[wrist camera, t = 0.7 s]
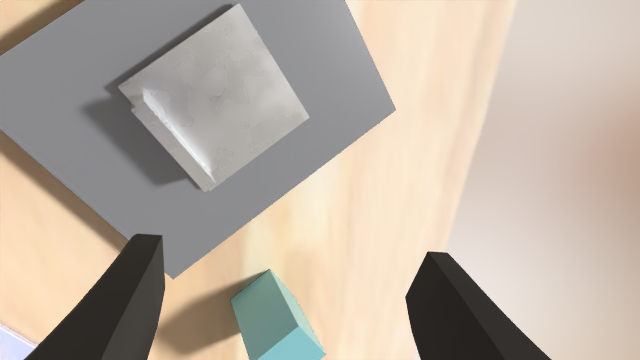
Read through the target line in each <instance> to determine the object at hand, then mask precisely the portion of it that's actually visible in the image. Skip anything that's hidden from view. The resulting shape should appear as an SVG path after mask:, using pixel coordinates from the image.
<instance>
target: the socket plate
mask: <svg viewBox="0 0 640 360" xmlns="http://www.w3.org/2000/svg"><path fill="white" fill-rule="evenodd" d="M237 3H240V5H241V7H242V8H243V10H244V11H245V13H246V15H247V16H248V18H249V20H250V21H251V23H252V24H253V26H254V28H255V29H256V31H257V33H258V34H259V36H260V37H261V39H262V41H263V42H264V44H265V46H266V47H267V49H268V50H269V52H270V54H271V55H272V57H273V59H274V60H275V62H276V63H277V65H278V67H279V68H280V70H281V71H282V73H283V75H284V76H285V78H286V80H287V81H288V83H289V84H290V86H291V88H292V89H293V91H294V93H295V94H296V96H297V97H298V99H299V101H300V102H301V104H302V106H303V107H304V109H305V110H306V112H307V114H308V115H309V117H310V118H308V119H307V120H306V121H304V122H303V123H301V124H300V125H299V126H297V127H296V128H295V129H293V130H292V131H291V132H289V133H288V134H287V135H285V136H284V137H283V138H281V139H280V140H279V141H277V142H276V143H274V144H273V145H272V146H270V147H269V148H268V149H266V150H265V151H264V152H262V153H261V154H260V155H258V156H257V157H256V158H254V159H253V160H252V161H250V162H249V163H248V164H246V165H245V166H243V167H242V168H241V169H239V170H238V171H237V172H235V173H234V174H233V175H231V176H230V177H229V178H227V179H226V180H225V181H223V182H222V183H221V184H219V185H218V186H217V187H215V188H214V189H212V190H211V191H210V190H208V191H206V192H204V191H203V190H202V189H201V188H200V186H199V185H198V184H197V183H196V182H195V181H194V180H193V179H192V178H191V177H190V175H189V174H188V173H187V172H186V171H185V170H184V169H183V168H182V167H181V165H180V164H179V163H178V162H177V161H176V160H175V159H174V158H173V157H172V155H171V154H170V153H169V152H168V151H167V150H166V149H165V148H164V147H163V146H162V144H161V143H160V142H159V141H158V140H157V139H156V138H155V137H154V136H153V134H152V133H151V132H150V131H149V130H148V129H147V128H146V127H145V126H144V124H143V123H142V122H141V121H140V120H139V119H138V118H137V117H136V116H135V115H134V113H133V112H132V111H131V102H130V100H129V99H128V98H127V97H126V96H125V95H124V94H123V93H122V91H121V90H120V89H119V88H118V85H119V84H121V83H122V82H124V81H125V80H126V79H128V78H129V77H131V76H132V75H134V74H135V73H137V72H138V71H140V70H141V69H142V68H144V67H145V66H147V65H148V64H150V63H151V62H153V61H154V60H156V59H157V58H158V57H160V56H161V55H163V54H164V53H166V52H167V51H169V50H170V49H171V48H173V47H174V46H176V45H177V44H179V43H180V42H182V41H183V40H185V39H186V38H187V37H189V36H190V35H192V34H193V33H195V32H196V31H198V30H199V29H201V28H202V27H203V26H205V25H206V24H208V23H209V22H211V21H212V20H214V19H215V18H216V17H218V16H219V15H221V14H222V13H224V12H225V11H227V10H228V9H230V8H231V7H232V6H234V5H235V4H237ZM395 110H396V109H395V106H394V104H393V102H392V100H391V98H390V96H389V94H388V91H387V89H386V87H385V85H384V83H383V81H382V79H381V76H380V74H379V72H378V70H377V68H376V66H375V64H374V61H373V59H372V57H371V55H370V53H369V51H368V49H367V47H366V44H365V42H364V40H363V38H362V36H361V34H360V32H359V29H358V27H357V25H356V23H355V21H354V19H353V17H352V14H351V12H350V10H349V8H348V6H347V4H346V2H345V0H85V1H83V2H81V3H80V4H78V5H77V6H75V7H74V8H72V9H71V10H69V11H68V12H66V13H65V14H63V15H62V16H60V17H59V18H57V19H56V20H54V21H53V22H51V23H49V24H48V25H46V26H45V27H43V28H42V29H40V30H39V31H37V32H36V33H34V34H33V35H31V36H30V37H28V38H27V39H25V40H24V41H22V42H21V43H19V44H17V45H16V46H14V47H13V48H11V49H10V50H8V51H7V52H5V53H4V54H2V55H1V56H0V130H2V131H3V132H4V133H5V134H6V135H7V136H8V137H10V138H11V139H12V140H13V141H14V142H15V143H17V144H18V145H19V146H20V147H21V148H22V149H23V150H25V151H26V152H27V153H28V154H29V155H30V156H32V157H33V158H34V159H35V160H36V161H37V162H38V163H40V164H41V165H42V166H43V167H44V168H45V169H47V170H48V171H49V172H50V173H51V174H52V175H53V176H55V177H56V178H57V179H58V180H59V181H60V182H62V183H63V184H64V185H65V186H66V187H67V188H68V189H70V190H71V191H72V192H73V193H74V194H75V195H77V196H78V197H79V198H80V199H81V200H82V201H83V202H85V203H86V204H87V205H88V206H89V207H90V208H92V209H93V210H94V211H95V212H96V213H97V214H98V215H100V216H101V217H102V218H103V219H104V220H105V221H106V222H108V223H109V224H110V225H111V226H112V227H113V228H115V229H116V230H117V231H118V232H119V233H120V234H121V235H123V236H124V237H125V238H126V239H127V240H128V241H129V240H130V239H131V238H132V236H134V235H135V234H152V235H162V236H163V256H164V272H165V273H166V274H168V275H169V276H170V277H171V278H172V279H174V278H176V277H177V276H178V275H180V274H181V273H182V272H184V271H185V270H186V269H187V268H189V267H190V266H191V265H193V264H194V263H195V262H197V261H198V260H199V259H201V258H202V257H203V256H205V255H206V254H207V253H209V252H210V251H211V250H212V249H214V248H215V247H216V246H218V245H219V244H220V243H222V242H223V241H224V240H226V239H227V238H228V237H230V236H231V235H232V234H234V233H235V232H236V231H237V230H239V229H240V228H241V227H243V226H244V225H245V224H247V223H248V222H249V221H251V220H252V219H253V218H255V217H256V216H257V215H259V214H260V213H261V212H262V211H264V210H265V209H266V208H268V207H269V206H270V205H272V204H273V203H274V202H276V201H277V200H278V199H280V198H281V197H282V196H284V195H285V194H286V193H287V192H289V191H290V190H291V189H293V188H294V187H295V186H297V185H298V184H299V183H301V182H302V181H303V180H305V179H306V178H307V177H308V176H310V175H311V174H312V173H314V172H315V171H316V170H318V169H319V168H320V167H322V166H323V165H324V164H326V163H327V162H328V161H330V160H331V159H332V158H333V157H335V156H336V155H337V154H339V153H340V152H341V151H343V150H344V149H345V148H347V147H348V146H349V145H351V144H352V143H353V142H355V141H356V140H357V139H358V138H360V137H361V136H362V135H364V134H365V133H366V132H368V131H369V130H370V129H372V128H373V127H374V126H376V125H377V124H378V123H380V122H381V121H382V120H383V119H385V118H386V117H387V116H389V115H390V114H391V113H393V112H394V111H395Z"/></svg>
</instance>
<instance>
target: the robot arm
mask: <svg viewBox="0 0 640 360" xmlns="http://www.w3.org/2000/svg"><path fill="white" fill-rule="evenodd" d="M164 291H165V276H164V256H163V236H162V235H152V234H135V235H134V236H132V238H131V239H130V240H129V242H128V243H127V245H126V246H125V247H124V249H123V250H122V251H121V253H120V254H119V255H118V257H117V258H116V259H115V260H114V262H113V263H112V264H111V265H110V267H109V268H108V269H107V270H106V272H105V273H104V274H103V275H102V276H101V278H100V279H99V280H98V281H97V282H96V284H95V285H94V286H93V287H92V288H91V289H90V290H89V292H88V293H87V294H86V295H85V296H84V297H83V299H82V300H81V301H80V302H79V303H78V304H77V305H76V306H75V308H74V309H73V310H72V311H71V312H70V313H69V314H68V315H67V316H66V317H65V318H64V319H63V320H62V321H61V322H60V323H59V325H58V326H57V327H56V328H55V329H54V330H53V331H52V332H51V333H50V334H49V335H48V336H47V337H46V338H45V339H44V340H43V341H42V342H41V343H40V344H39V345H36V344H35V343H33V342H31V341H30V340H28V339H26V338H24V337H23V336H21V335H19V334H18V333H16V332H14V331H12V330H11V329H9V328H7V327H6V326H4V325H2V324H0V360H147V358H148V355H149V352H150V349H151V345H152V342H153V339H154V336H155V333H156V329H157V326H158V321H159V316H160V311H161V307H162V301H163V296H164ZM405 298H406V303H407V309H408V315H409V320H410V325H411V330H412V333H413V337H414V340H415V343H416V346H417V349H418V353H419V356H420V358H421V360H551V359H550V358H549V357H548V356H547V355H546V354H545V353H544V352H542V351H541V350H540V349H539V348H538V347H537V346H536V345H535V344H534V343H533V342H532V341H531V340H530V339H529V338H528V337H527V336H526V335H525V334H524V333H523V332H522V331H521V330H520V329H519V328H518V327H517V326H516V325H515V324H514V323H513V322H512V321H511V320H510V319H509V318H508V317H507V316H506V315H505V314H504V313H503V312H502V311H501V310H500V309H499V308H498V307H497V305H496V304H495V303H494V302H493V301H492V300H491V299H490V298H489V297H488V296H487V295H486V294H485V293H484V292H483V290H481V288H480V287H479V286H478V285H477V284H476V283H475V282H474V281H473V280H472V278H471V277H470V276H469V275H468V274H467V273H466V272H465V271H464V270H463V269H462V268H461V267H460V265H459V264H458V263H457V262H456V261H455V260H454V259H453V258H452V257H451V256H450V255H449V254H448V253H443V252H427V254H426V256H425V258H424V260H423V262H422V264H421V266H420V268H419V270H418V272H417V274H416V276H415V278H414V280H413V282H412V285H411V287H410V289H409V291H408V293H407V295H406V297H405Z"/></svg>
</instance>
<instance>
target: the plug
mask: <svg viewBox="0 0 640 360" xmlns="http://www.w3.org/2000/svg"><path fill="white" fill-rule="evenodd" d="M231 303H232V306H233V309H234V312H235V316H236V319H237V322H238V325H239V328H240V331H241V334H242V337H243V341H244V344H245V347H246V350H247V353H248V356H249V359H250V360H320V359H321V358H322V357H324V356H325V355H326V353H325V351H324V349H323V348H322V346H321V344H320V342H319V340H318V338H317V337H316V335H315V333H314V331H313V329H312V327H311V326H310V324H309V322H308V320H307V318H306V316H305V315H304V313H303V311H302V309H301V307H300V305H299V304H298V302H297V300H296V298H295V296H294V295H293V294H292V293H291V292H290V291H289V289H288V288H287V287H286V286H285V285H284V284H283V283H282V282H281V281H280V280H279V279H278V277H277V276H276V275H275V274H274V273H273V272H272V271H271V270H270V269H269V270H268V271H266V272H265V273H264V274H263V275H261V276H260V277H259V278H257V279H256V280H255V281H254V282H252V283H251V284H250V285H248V286H247V287H246V288H245V289H243V290H242V291H241V292H240V293H238V294H237V295H236V296H234V297H233V298H232V299H231Z"/></svg>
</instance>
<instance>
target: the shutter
mask: <svg viewBox="0 0 640 360" xmlns="http://www.w3.org/2000/svg"><path fill="white" fill-rule="evenodd" d="M118 88H119V89H120V90H121V91H122V93H123V94H124V95H125V96H126V97H127V98H128V99H129V100H130V102H131V111H132V112H133V113H134V115H135V116H136V117H137V118H138V119H139V120H140V121H141V122H142V123H143V124H144V126H145V127H146V128H147V129H148V130H149V131H150V132H151V133H152V134H153V136H154V137H155V138H156V139H157V140H158V141H159V142H160V143H161V144H162V146H163V147H164V148H165V149H166V150H167V151H168V152H169V153H170V154H171V155H172V157H173V158H174V159H175V160H176V161H177V162H178V163H179V164H180V165H181V167H182V168H183V169H184V170H185V171H186V172H187V173H188V174H189V175H190V177H191V178H192V179H193V180H194V181H195V182H196V183H197V184H198V185H199V186H200V188H201V189H202V190H203V191H204V192H206V191H208V190H210V191H211V190H212V189H214V188H215V187H217V186H218V185H219V184H221V183H222V182H223V181H225V180H226V179H227V178H229V177H230V176H231V175H233V174H234V173H235V172H237V171H238V170H239V169H241V168H242V167H243V166H245V165H246V164H248V163H249V162H250V161H252V160H253V159H254V158H256V157H257V156H258V155H260V154H261V153H262V152H264V151H265V150H266V149H268V148H269V147H270V146H272V145H273V144H274V143H276V142H277V141H279V140H280V139H281V138H283V137H284V136H285V135H287V134H288V133H289V132H291V131H292V130H293V129H295V128H296V127H297V126H299V125H300V124H301V123H303V122H304V121H306V120H307V119H308V118H310V117H309V115H308V114H307V112H306V110H305V109H304V107H303V106H302V104H301V102H300V101H299V99H298V97H297V96H296V94H295V93H294V91H293V89H292V88H291V86H290V84H289V83H288V81H287V80H286V78H285V76H284V75H283V73H282V71H281V70H280V68H279V67H278V65H277V63H276V62H275V60H274V59H273V57H272V55H271V54H270V52H269V50H268V49H267V47H266V46H265V44H264V42H263V41H262V39H261V37H260V36H259V34H258V33H257V31H256V29H255V28H254V26H253V24H252V23H251V21H250V20H249V18H248V16H247V15H246V13H245V11H244V10H243V8H242V7H241V5H240V3H237V4H235V5H234V6H232V7H231V8H230V9H228V10H227V11H225V12H224V13H222V14H221V15H219V16H218V17H216V18H215V19H214V20H212V21H211V22H209V23H208V24H206V25H205V26H203V27H202V28H201V29H199V30H198V31H196V32H195V33H193V34H192V35H190V36H189V37H187V38H186V39H185V40H183V41H182V42H180V43H179V44H177V45H176V46H174V47H173V48H171V49H170V50H169V51H167V52H166V53H164V54H163V55H161V56H160V57H158V58H157V59H156V60H154V61H153V62H151V63H150V64H148V65H147V66H145V67H144V68H142V69H141V70H140V71H138V72H137V73H135V74H134V75H132V76H131V77H129V78H128V79H126V80H125V81H124V82H122V83H121V84H119V85H118Z"/></svg>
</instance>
